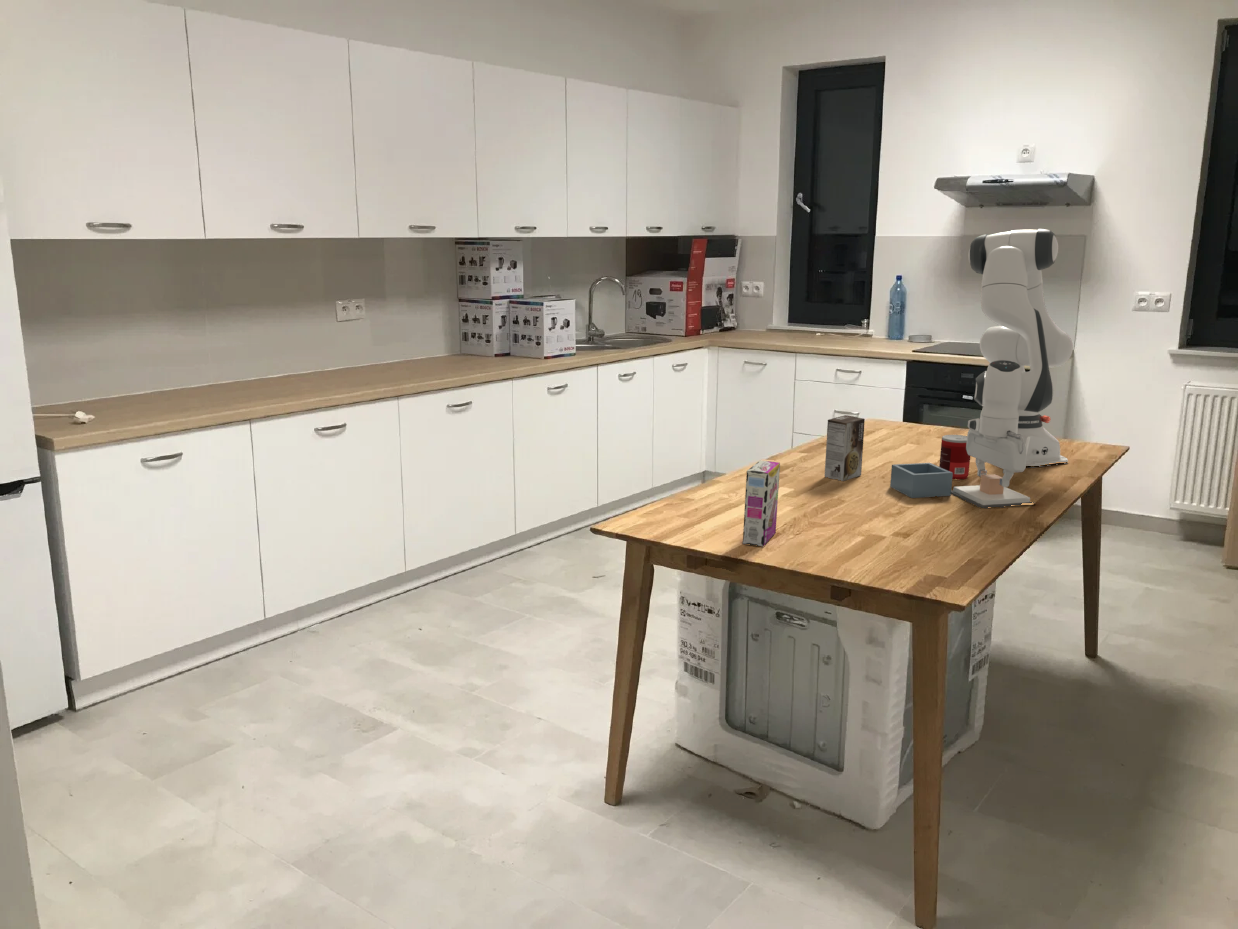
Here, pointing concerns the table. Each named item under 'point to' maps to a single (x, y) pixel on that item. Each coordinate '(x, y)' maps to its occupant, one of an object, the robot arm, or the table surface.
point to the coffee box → (844, 447)
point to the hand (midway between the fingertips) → (992, 481)
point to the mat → (983, 505)
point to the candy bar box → (761, 502)
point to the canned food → (955, 456)
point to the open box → (921, 480)
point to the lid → (991, 492)
